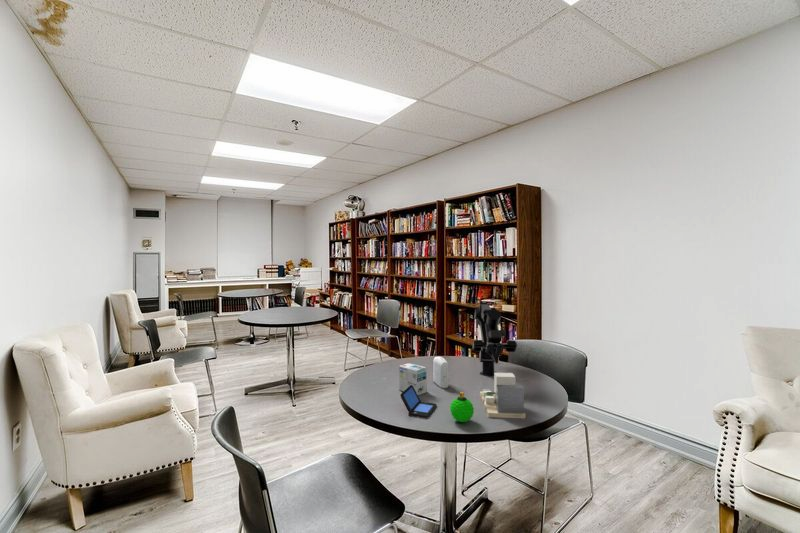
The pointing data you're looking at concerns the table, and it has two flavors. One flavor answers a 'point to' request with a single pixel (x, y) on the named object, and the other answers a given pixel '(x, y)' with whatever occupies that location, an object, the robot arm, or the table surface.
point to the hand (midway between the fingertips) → (496, 363)
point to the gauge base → (491, 407)
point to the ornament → (462, 408)
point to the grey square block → (510, 398)
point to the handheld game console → (416, 404)
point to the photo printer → (441, 372)
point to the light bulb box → (413, 377)
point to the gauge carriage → (502, 381)
